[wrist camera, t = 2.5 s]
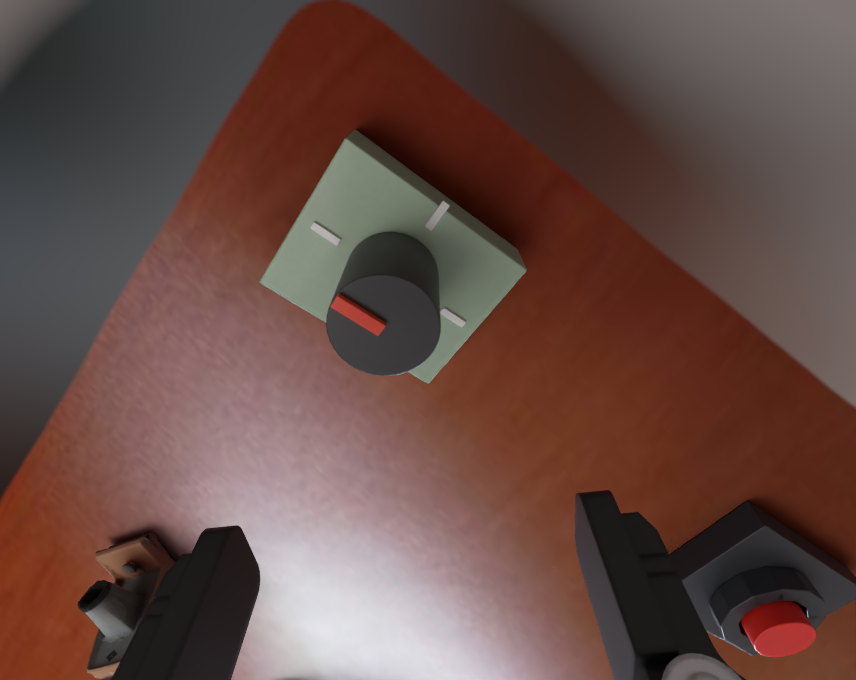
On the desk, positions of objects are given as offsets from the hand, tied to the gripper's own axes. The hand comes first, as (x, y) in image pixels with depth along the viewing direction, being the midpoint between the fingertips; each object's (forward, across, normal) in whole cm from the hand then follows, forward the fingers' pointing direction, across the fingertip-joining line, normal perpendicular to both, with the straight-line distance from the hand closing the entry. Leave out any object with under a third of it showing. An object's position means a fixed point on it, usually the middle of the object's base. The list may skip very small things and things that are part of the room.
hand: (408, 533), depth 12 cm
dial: (+14, +1, -1) cm, 14 cm away
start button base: (+17, -21, +28) cm, 39 cm away
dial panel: (+17, +1, -1) cm, 17 cm away
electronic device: (+17, +23, +22) cm, 36 cm away
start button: (+14, -21, +28) cm, 37 cm away
